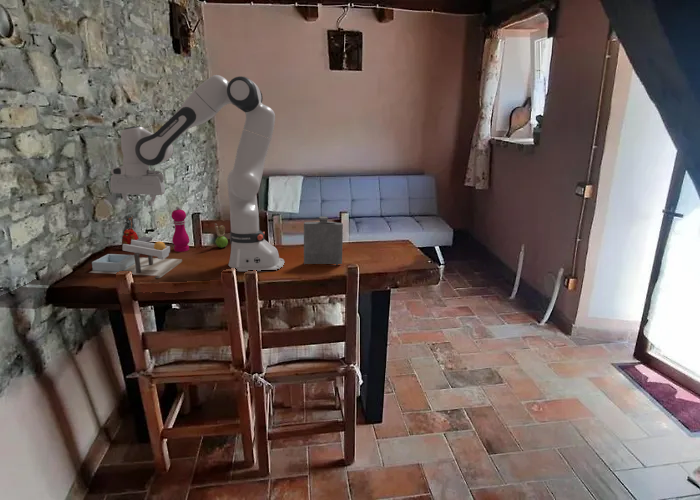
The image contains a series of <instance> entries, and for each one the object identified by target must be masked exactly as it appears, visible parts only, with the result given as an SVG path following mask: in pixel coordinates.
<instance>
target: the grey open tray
mask: <svg viewBox="0 0 700 500" xmlns="http://www.w3.org/2000/svg"><path fill="white" fill-rule="evenodd" d="M133 264H135V259H134V254H117V253H107V254H105V255H103V256H101V257H100V258H97V259H95V260H93V261H91V266H92V270H93V271H102V272H119V271H123V270H125V269H127V268H128V267H130V266H132V265H133Z"/></svg>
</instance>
